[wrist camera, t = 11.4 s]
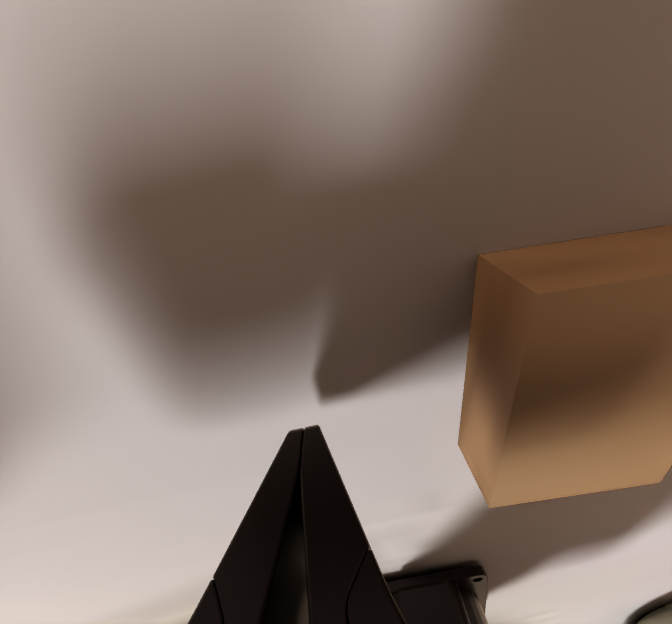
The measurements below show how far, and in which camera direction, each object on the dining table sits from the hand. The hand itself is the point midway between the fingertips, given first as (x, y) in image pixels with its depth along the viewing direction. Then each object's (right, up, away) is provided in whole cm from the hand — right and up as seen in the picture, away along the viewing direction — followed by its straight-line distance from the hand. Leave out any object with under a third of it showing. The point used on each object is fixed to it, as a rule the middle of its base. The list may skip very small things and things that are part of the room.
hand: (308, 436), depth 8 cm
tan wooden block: (+7, +2, +1) cm, 7 cm away
